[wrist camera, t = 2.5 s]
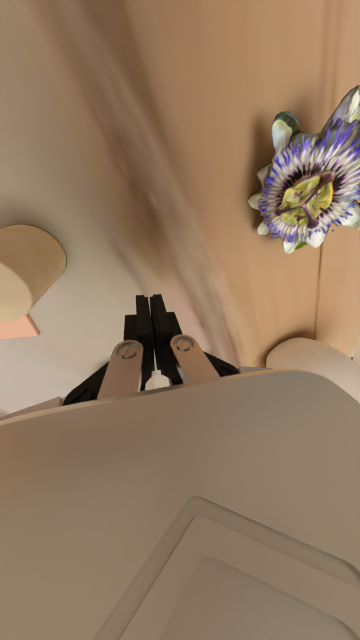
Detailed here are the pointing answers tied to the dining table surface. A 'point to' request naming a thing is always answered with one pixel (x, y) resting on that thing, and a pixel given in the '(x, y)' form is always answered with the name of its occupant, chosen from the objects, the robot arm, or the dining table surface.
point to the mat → (18, 328)
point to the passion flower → (311, 178)
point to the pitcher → (317, 362)
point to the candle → (26, 268)
